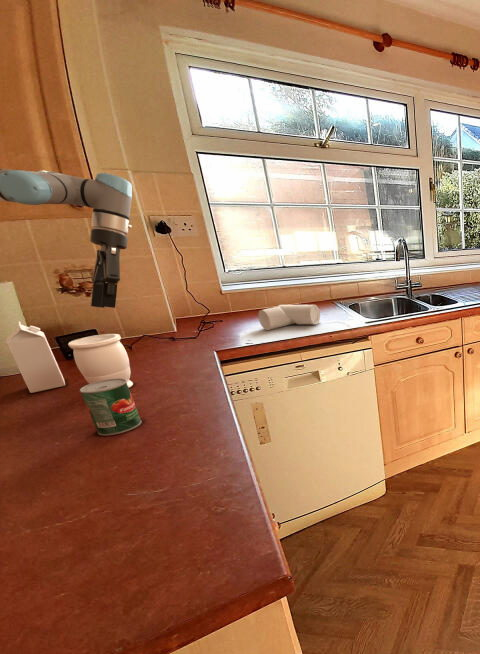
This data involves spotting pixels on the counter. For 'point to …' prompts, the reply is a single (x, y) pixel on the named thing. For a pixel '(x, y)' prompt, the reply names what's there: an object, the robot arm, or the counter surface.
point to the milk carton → (34, 359)
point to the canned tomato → (111, 406)
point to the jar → (101, 358)
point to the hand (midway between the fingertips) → (102, 307)
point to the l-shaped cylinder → (288, 315)
